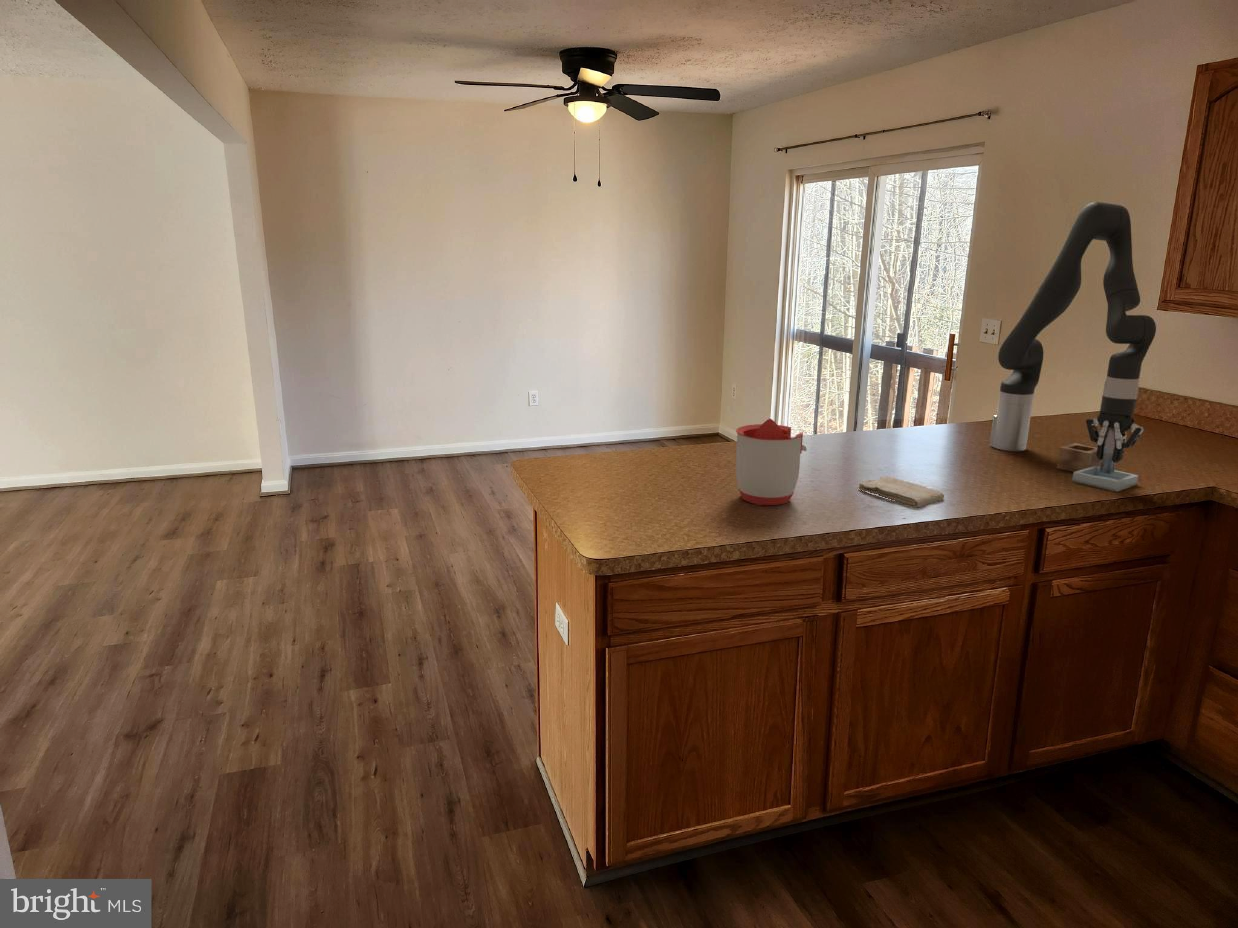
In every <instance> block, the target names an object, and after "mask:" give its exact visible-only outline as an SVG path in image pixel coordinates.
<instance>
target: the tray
mask: <svg viewBox="0 0 1238 928" xmlns="http://www.w3.org/2000/svg"><path fill="white" fill-rule="evenodd" d="M1071 480H1072V482H1075V483H1078V484H1082V485H1086V486H1091V487H1095V488H1099V489H1104V490H1108V491H1111V492H1115V493H1116V492H1119V491H1122V490H1126V489H1128V488H1132V487H1134V486H1137V485H1138V480H1139V475H1138V474H1133V473H1130V472H1125V471H1121V470H1115V469H1114V473H1113V474H1106V473H1101V472H1100V467H1097V466H1092V467H1089V468H1086V469H1082V470H1079V471H1076V472H1073V473H1072V479H1071Z"/></svg>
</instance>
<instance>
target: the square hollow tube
mask: <svg viewBox="0 0 1238 928" xmlns="http://www.w3.org/2000/svg"><path fill="white" fill-rule="evenodd" d="M1096 453H1097V447H1095V446H1089V445H1085V444H1080V443H1071V444H1067V445H1063V446H1060V447H1059V450H1058V456H1057V457H1058V458H1057V465H1056V469H1060V470H1064V471H1067V472H1068V471H1069V472H1073V473H1074V472H1076V471H1079V470H1082V469H1086V468H1089V467H1092V466H1097V467H1100V466H1101V460H1100V459H1098V457H1097V456H1096Z"/></svg>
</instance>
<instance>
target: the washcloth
mask: <svg viewBox="0 0 1238 928" xmlns="http://www.w3.org/2000/svg"><path fill="white" fill-rule="evenodd" d="M858 488H859V489H860V490H863V491H868V492H870V493H874V494H878V495H879V496H882V497H885V498H888V499H891V500H895V502H894V503H897V502H899V503H898V504H900V503H903V504H902V505H904V506H907V507H911V508H920V507H924V506H926V505H930V504H934V503H936V502H940V501H942V500H944V499H945V494H944V493H943V492H942V491H940V490H937V489H934V488H929V487H926V486H924V485H921V484H918V483H914V482H910V481H907V480H906V481H905V480H903V479H900V478H899V479H898V478H895V477H892V476H889V475H887V476H886V475H885V476H881V477H879V478H877V479H869V480H866V481H864V482H863V481H862V482H861V483H860V482H859V483H858V487H857V489H858ZM859 489H858V490H859ZM860 490H859V491H860Z"/></svg>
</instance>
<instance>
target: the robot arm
mask: <svg viewBox="0 0 1238 928" xmlns="http://www.w3.org/2000/svg"><path fill="white" fill-rule="evenodd" d="M1129 212H1130V211H1129V210H1128V209H1127V208H1126V206H1123V205H1121V204H1116V203H1107V202H1103V201H1102V202H1101V201H1092V202H1090V203H1088V204H1086V205H1085V206H1084V207H1083V208H1082V210H1081V211H1080V213H1079V214H1078V215H1077V217H1076V219H1075V221H1074V223H1073V225H1072V227H1071V230H1070V232H1069V233H1068V236H1067V238H1066V240H1065V242H1064V244H1063V245H1062V248H1061V250H1060V252H1059V254H1058V255H1057V258H1056V259H1055V261H1054V263H1053V264H1052V267H1051V268H1050V270H1049V271H1048V273H1047V274H1046V276H1045V278H1044V279H1043V281H1042V282H1041V284H1040V286H1039V287H1038V289H1037V291H1036V293H1035V295H1034V296H1033V298H1032V300H1031V301H1030V303H1029V304H1028V306H1027V308H1026V309H1025V311H1024V313H1023V314H1022V316H1021V317H1020V319H1019V321H1018V322H1017V323H1016V325H1015V326H1014V327H1013V329H1012V330H1011V331H1010V333H1009V334H1008V336H1006V338H1005V340H1004V341H1003V342H1002V344H1001V346H1000V348H999V351H998V355H997V356H998V357H997V358H998V359H997V360H998V363H999V365H1000V367H1001V368H1003V369H1005V370H1009V371H1012V373H1011V374H1010V375H1009V376H1008V377H1007V378H1006V379H1004V380H1002V381H1001V383H1000V388H999V394H998V395H999V396H998V401H997V410H996V414H994V415H993V416H992V417H993V418H992V425H991V432H990V433H991V434H990V438H989V447H992V448H994V449H998V450H1001V451H1008V452H1009V451H1010V452H1023V451H1026V450H1027V445H1028V437H1029V430H1030V423H1031V416H1032V409H1033V402H1034V395H1035V390H1036V387H1037V385H1038V384H1039V382H1040V376H1041V371H1042V367H1043V361H1044V347H1043V344H1042V342H1041V341H1040V340H1039V339H1037V337H1038V336H1039V334H1040V333H1041V332H1042V331H1043V330H1044V329H1046V327H1048V326H1050V324H1051V323H1053V322H1055V320H1057V319H1058V318H1059V317H1061V315H1063V314H1064V313H1065V312H1066V311H1067V309H1068V308H1069V307H1070V305H1071V303H1072V302H1073V300H1074V299H1075V298H1076V296H1077V295H1078V293H1079V291H1080V289H1081V285H1082V260H1083V257H1084V255H1085V253H1086V251H1087V249H1088V247H1089V246H1090V245H1091V242H1093V240H1097V241H1102V242H1103V241H1105V242H1106V245H1107V247H1108V249H1109V254H1110V255H1109V256H1110V257H1109V262H1108V264H1107V266H1106V269H1105V270H1104V274H1103V279H1102V280H1103V281H1102V283H1103V290H1104V294H1105V298H1106V303H1107V314H1106V325H1105V334H1106V336H1107V339H1108V340H1109V341H1110V342H1111V343H1113V344H1117V345H1119V344H1120V345H1128V346H1127V347H1126V348H1125V350H1123V351H1120V352H1116V353H1113V354H1112V355H1111V356H1109V357H1110V358H1109V360H1108V366H1107V367H1108V368H1107V373H1106V378H1105V382H1104V384H1103V389H1102V390H1103V391H1102V395H1101V396H1102V397H1101V402H1100V409H1099V414H1098V415H1097V417H1095V418H1087V419H1086V421H1085V424H1086V428H1087V432H1088V435H1089V439H1090V441H1091V442H1094V443H1096V444H1097V447H1096V448H1097V453H1096V456H1097V457H1098V459H1100V460H1102V454H1103V448H1104V442H1105V437H1106V432H1107V430H1108V427H1111V428H1114V429H1115V439H1116V447H1117V448H1116V449H1115V453H1114V459H1113V462H1114V463H1115V464H1118V463H1120V462H1121V461H1122V460H1123V459H1124V453H1125V452H1124V451H1125V449H1130V448H1132V447H1134V446H1135V444H1137V441H1138V440H1139V438H1141V436H1142V434H1143V433H1144V431H1145V430H1146V429H1145V427H1144V426H1139V425H1138V424H1136V423H1135V420H1134V419H1135V418H1134V415H1135V413H1136V410H1135V409H1136V405H1137V400H1138V395H1139V388H1140V375H1141V371H1142V364H1143V361H1144V359H1145V357H1146V355H1147V353H1148V351H1149V348H1150V346H1151V345H1152V343H1153V341H1154V338H1155V337H1156V334H1157V324H1156V322H1155V320H1154V318H1153V317H1152V316H1150V315H1146V314H1127V312H1130V311H1131V310H1134V309H1136V308H1137V307H1138V306H1139V305H1140V303H1141V295H1140V291H1139V287H1138V283H1137V279H1136V274H1135V271H1134V264H1133V263H1134V262H1133V261H1134V260H1133V241H1132V240H1133V239H1132V222H1131V215H1130V213H1129ZM1098 425H1099V426H1100V428H1101V429H1100V432H1099V429H1098ZM1130 429H1131V434H1130V436H1129V437H1128V438H1127V432H1128V431H1129V430H1130Z"/></svg>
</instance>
